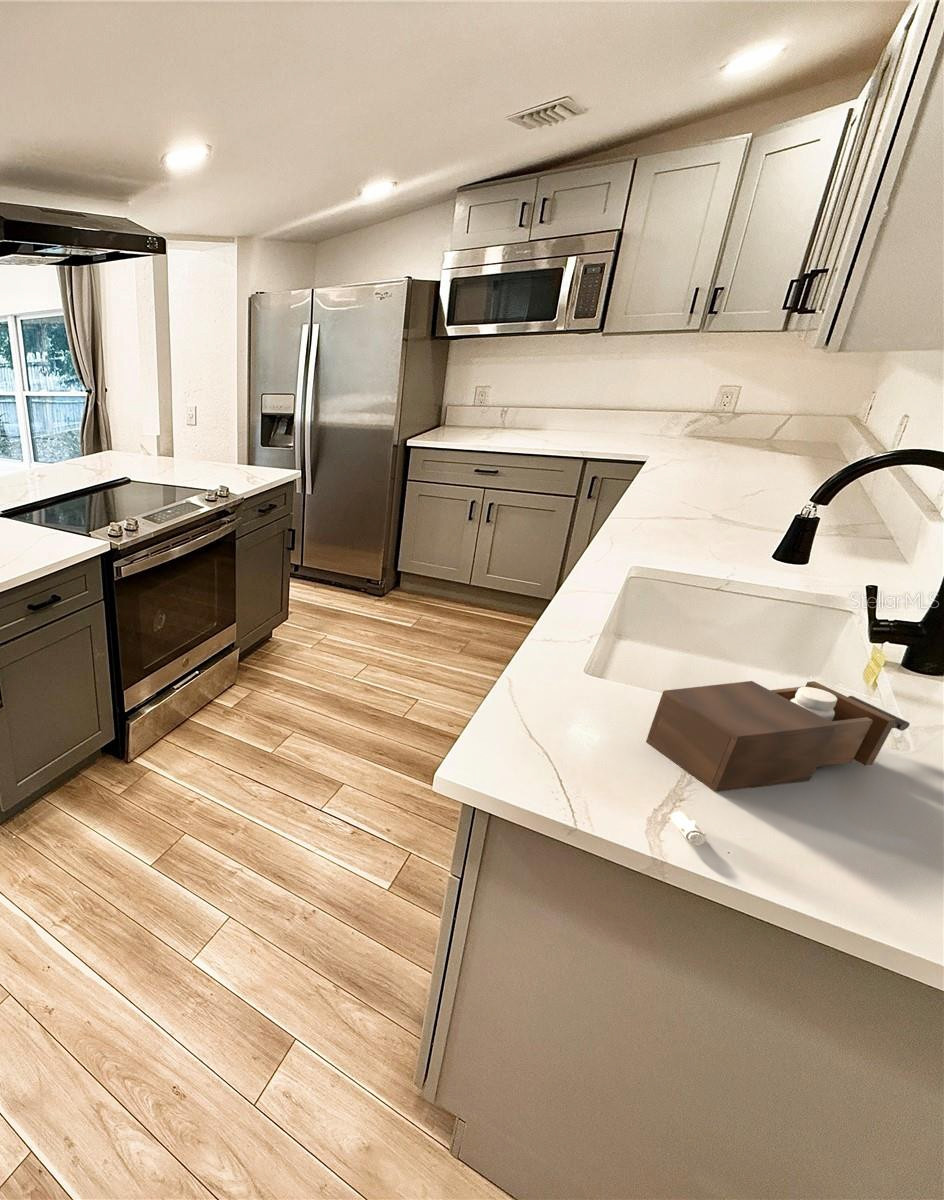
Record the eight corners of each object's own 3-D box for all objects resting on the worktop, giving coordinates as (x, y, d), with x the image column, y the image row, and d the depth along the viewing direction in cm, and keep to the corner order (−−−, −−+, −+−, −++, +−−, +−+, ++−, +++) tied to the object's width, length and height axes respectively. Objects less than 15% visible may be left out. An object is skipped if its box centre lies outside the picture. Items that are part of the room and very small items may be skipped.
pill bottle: (785, 728, 94) (806, 682, 91) (826, 746, 90) (849, 698, 87) (766, 736, 93) (787, 689, 89) (807, 755, 89) (830, 706, 85)
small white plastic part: (706, 828, 80) (713, 810, 79) (699, 855, 76) (707, 836, 75) (671, 815, 83) (678, 797, 81) (662, 840, 79) (670, 821, 78)
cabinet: (730, 731, 97) (751, 680, 94) (810, 780, 87) (837, 725, 83) (645, 741, 96) (663, 690, 93) (715, 792, 86) (738, 736, 82)
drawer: (827, 719, 98) (848, 677, 94) (908, 760, 88) (934, 715, 85) (716, 731, 96) (733, 689, 93) (786, 775, 87) (807, 730, 84)
